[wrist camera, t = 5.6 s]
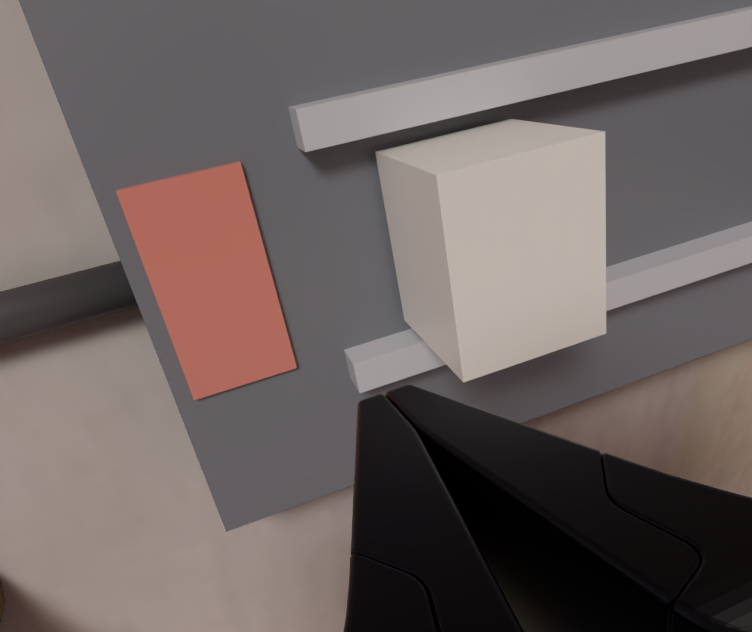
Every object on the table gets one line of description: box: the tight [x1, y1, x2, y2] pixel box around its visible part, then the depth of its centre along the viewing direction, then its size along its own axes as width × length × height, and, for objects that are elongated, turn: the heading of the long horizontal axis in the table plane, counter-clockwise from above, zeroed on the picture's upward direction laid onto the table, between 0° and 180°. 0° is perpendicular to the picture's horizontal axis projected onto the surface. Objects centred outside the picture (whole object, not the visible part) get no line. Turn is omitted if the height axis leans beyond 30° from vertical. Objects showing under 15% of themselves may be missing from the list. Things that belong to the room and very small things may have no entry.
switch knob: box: [375, 119, 606, 383], centre depth 15 cm, size 4×5×4 cm
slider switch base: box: [0, 0, 752, 532], centre depth 18 cm, size 36×16×4 cm, turn 101°
